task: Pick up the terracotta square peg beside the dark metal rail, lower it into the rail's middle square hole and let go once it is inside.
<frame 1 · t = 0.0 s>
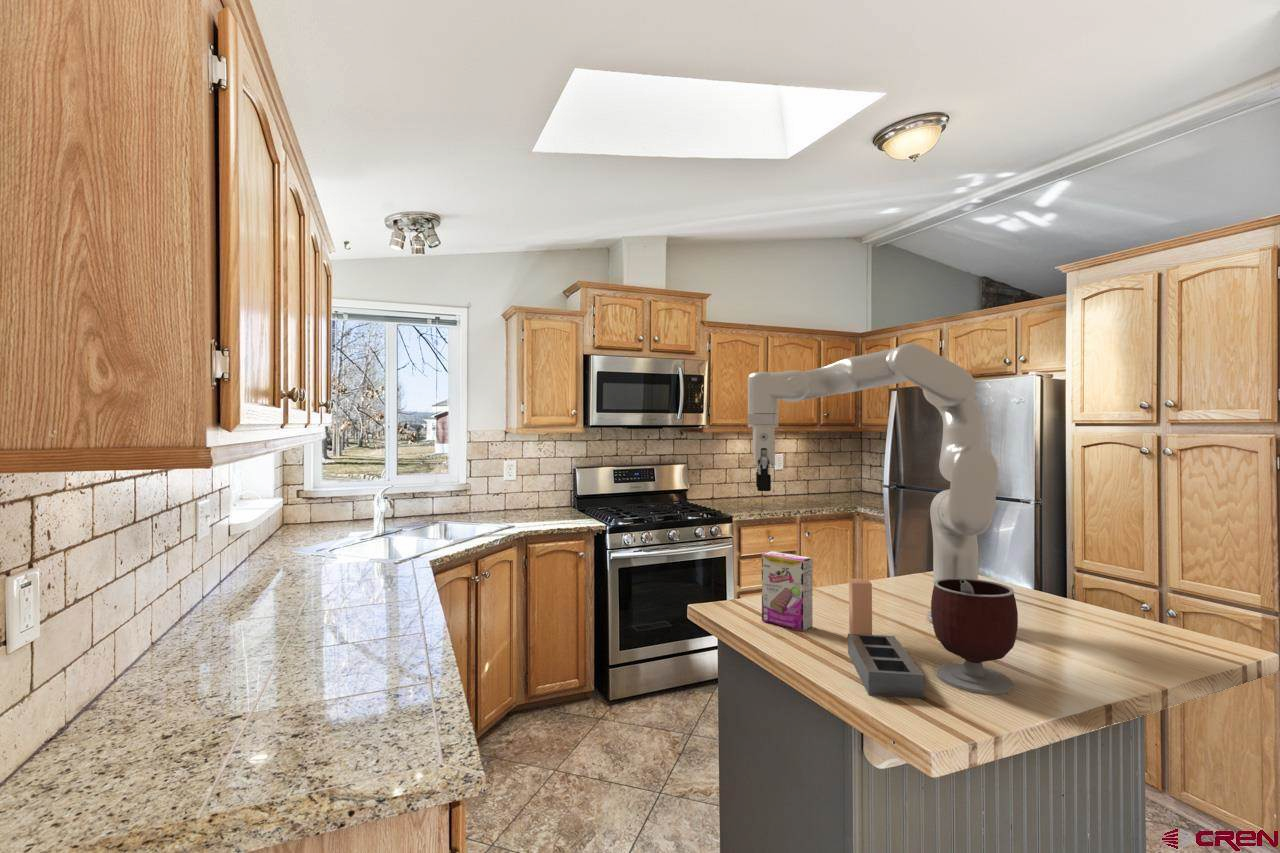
hand: (763, 489, 151), 31 cm above the countertop, tool pointing down, fingers open, 9 cm apart
candy bar box: (786, 625, 142), on the countertop
mate gourd: (972, 682, 109), on the countertop
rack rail: (882, 673, 112), on the countertop
square peg: (860, 640, 130), on the countertop
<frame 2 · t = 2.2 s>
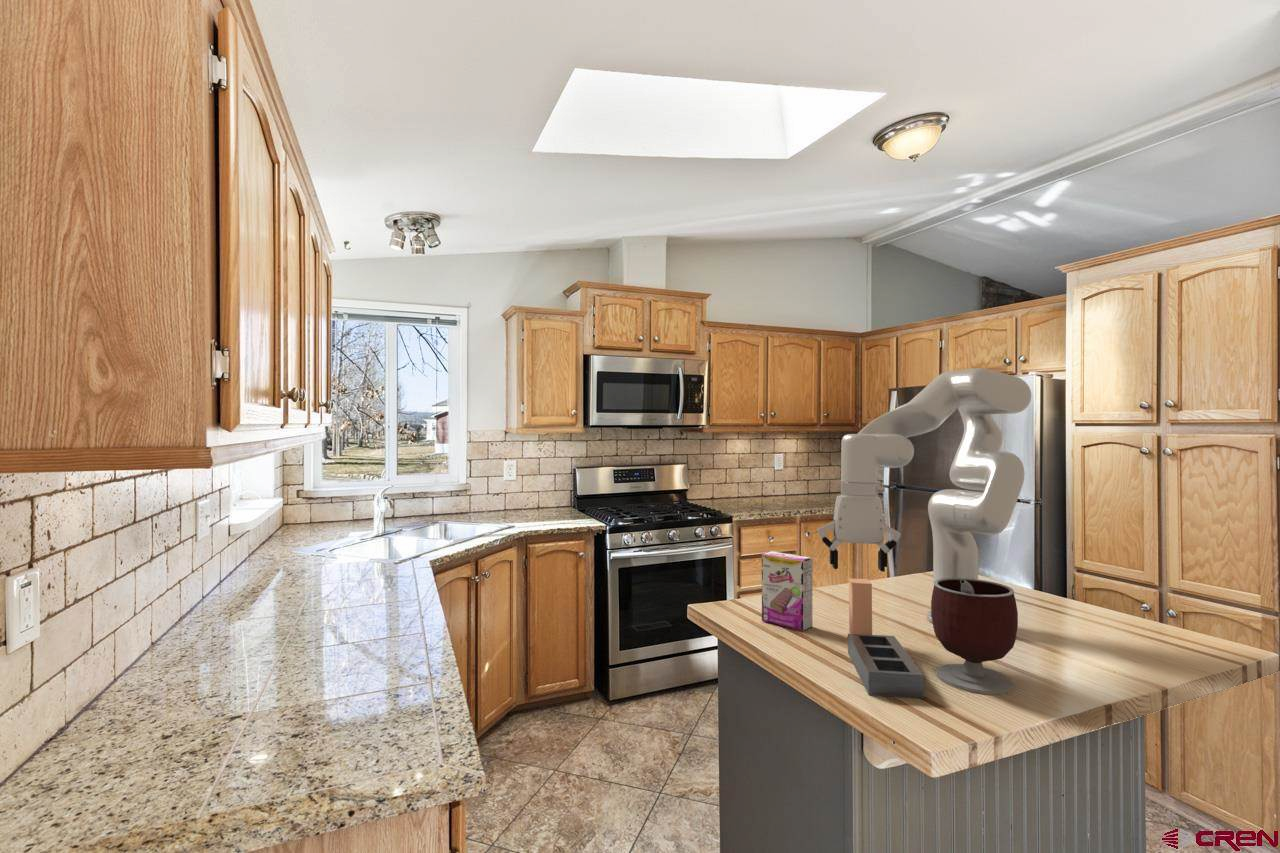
hand: (858, 569, 130), 16 cm above the countertop, tool pointing down, fingers open, 9 cm apart
nothing on the countertop moved.
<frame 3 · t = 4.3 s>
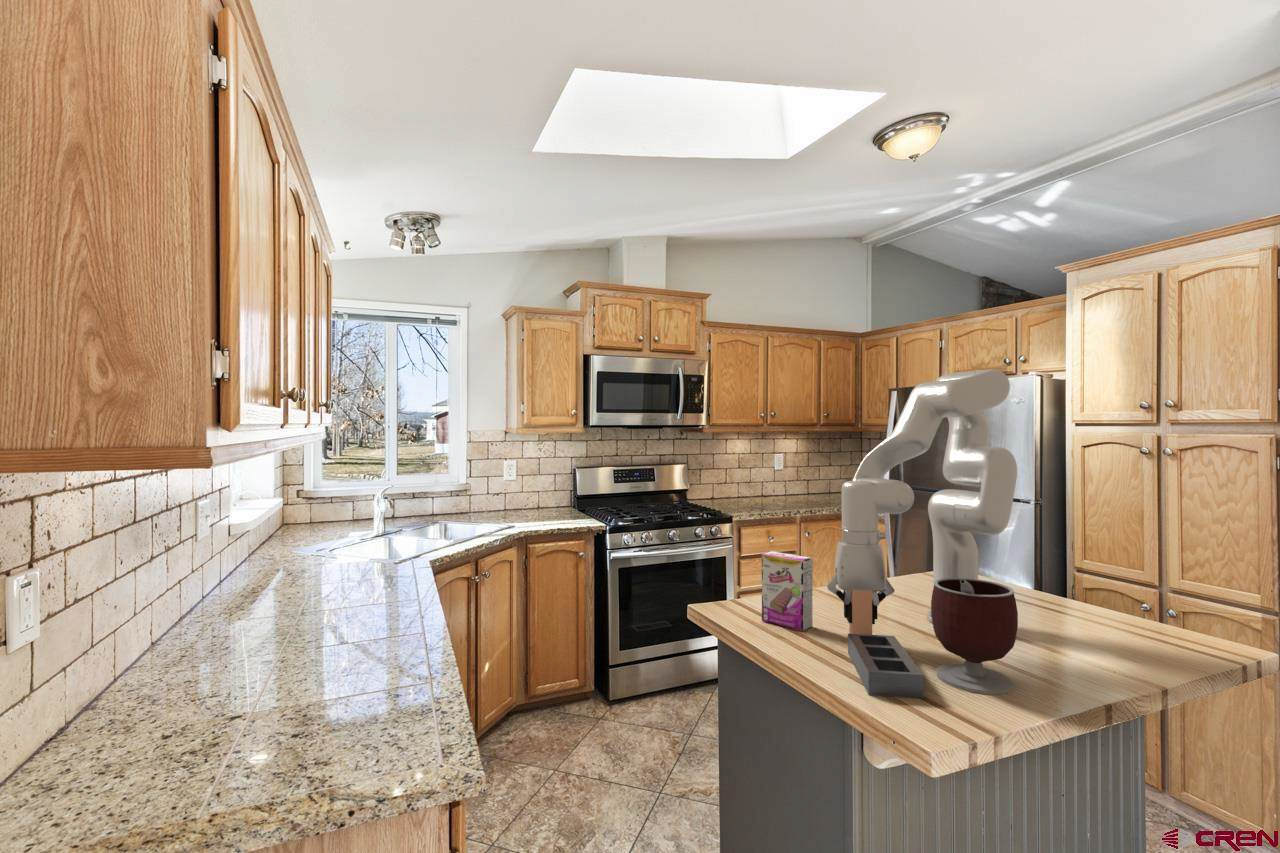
hand: (860, 621, 130), 4 cm above the countertop, tool pointing down, fingers closed on square peg, 4 cm apart
square peg: (860, 640, 130), on the countertop, touching gripper
everything else where it was.
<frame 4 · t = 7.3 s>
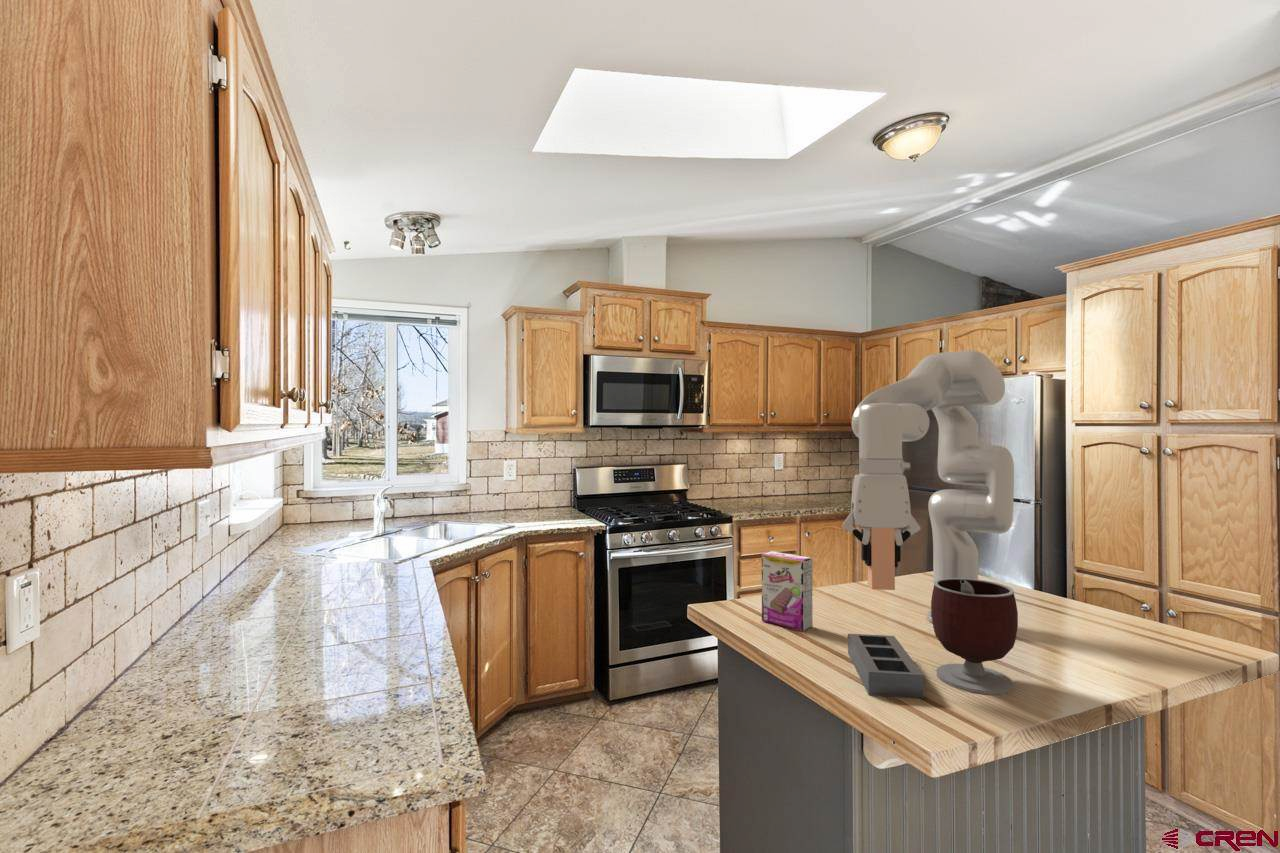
hand: (880, 564, 113), 20 cm above the countertop, tool pointing down, fingers closed on square peg, 4 cm apart
square peg: (881, 587, 113), point 16 cm above the countertop, touching gripper
everything else where it was.
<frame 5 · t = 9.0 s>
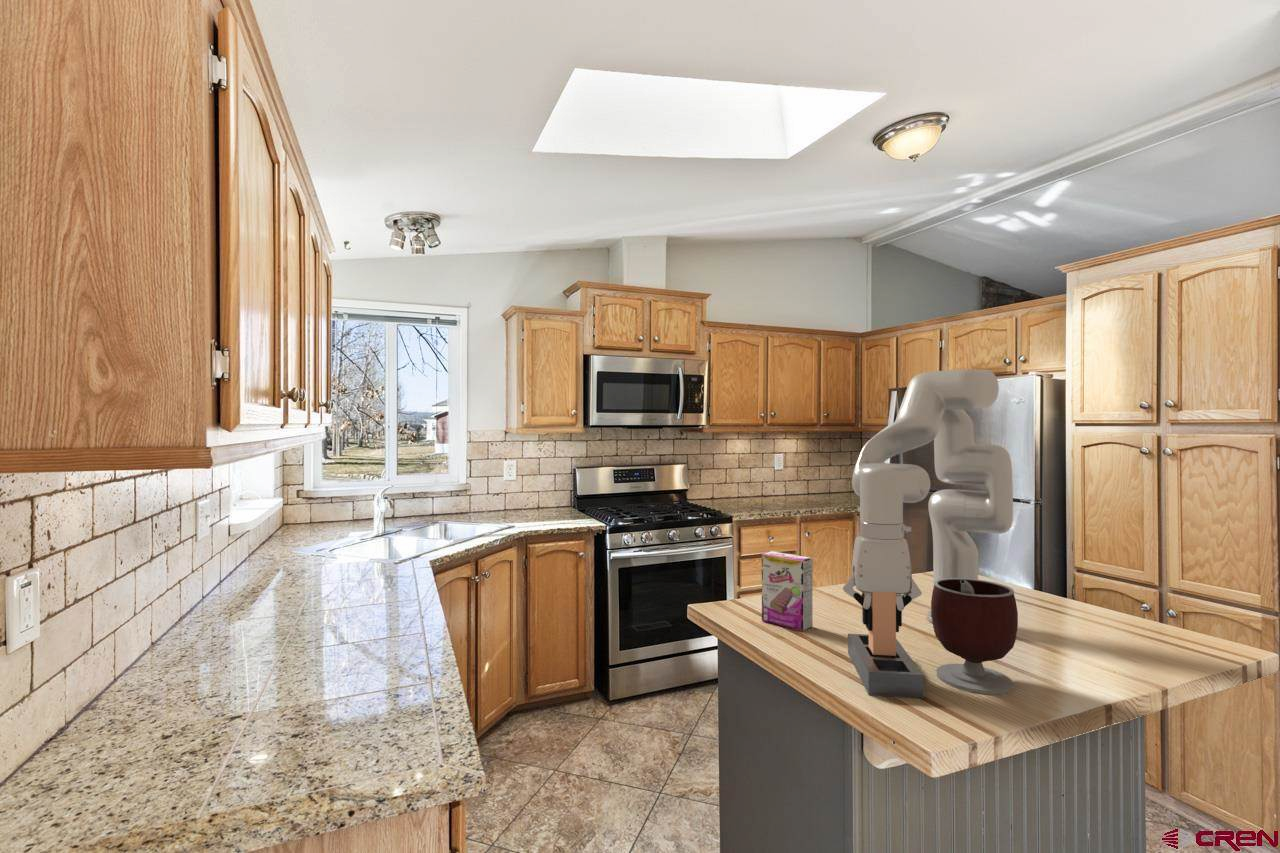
hand: (881, 628, 112), 9 cm above the countertop, tool pointing down, fingers closed on square peg, 4 cm apart
square peg: (882, 651, 112), point 4 cm above the countertop, touching gripper
everything else where it was.
when the fingers open (6 cm above the countertop, at t = 10.2 s): square peg drops 1 cm, resting in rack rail.
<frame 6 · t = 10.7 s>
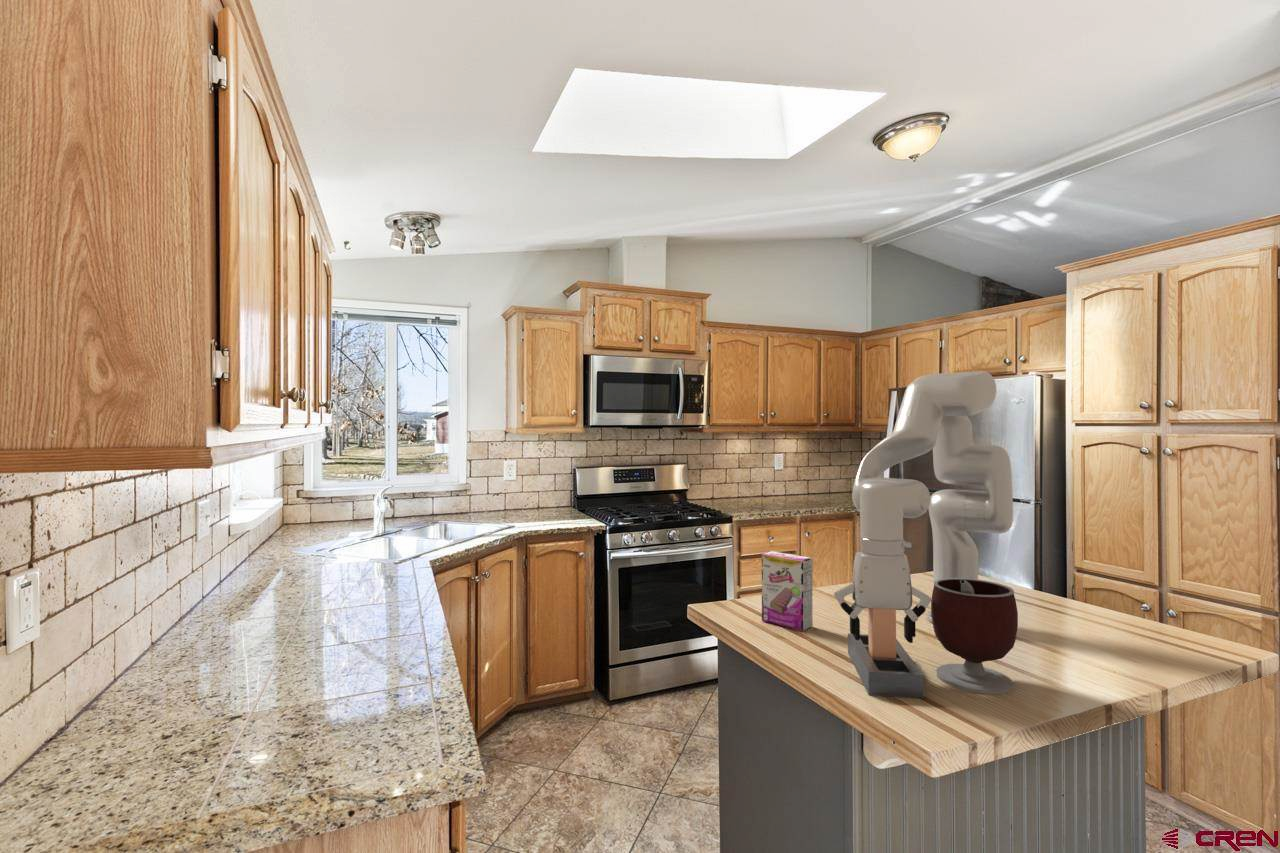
hand: (882, 639, 112), 7 cm above the countertop, tool pointing down, fingers open, 9 cm apart
square peg: (882, 673, 112), resting in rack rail
everything else where it was.
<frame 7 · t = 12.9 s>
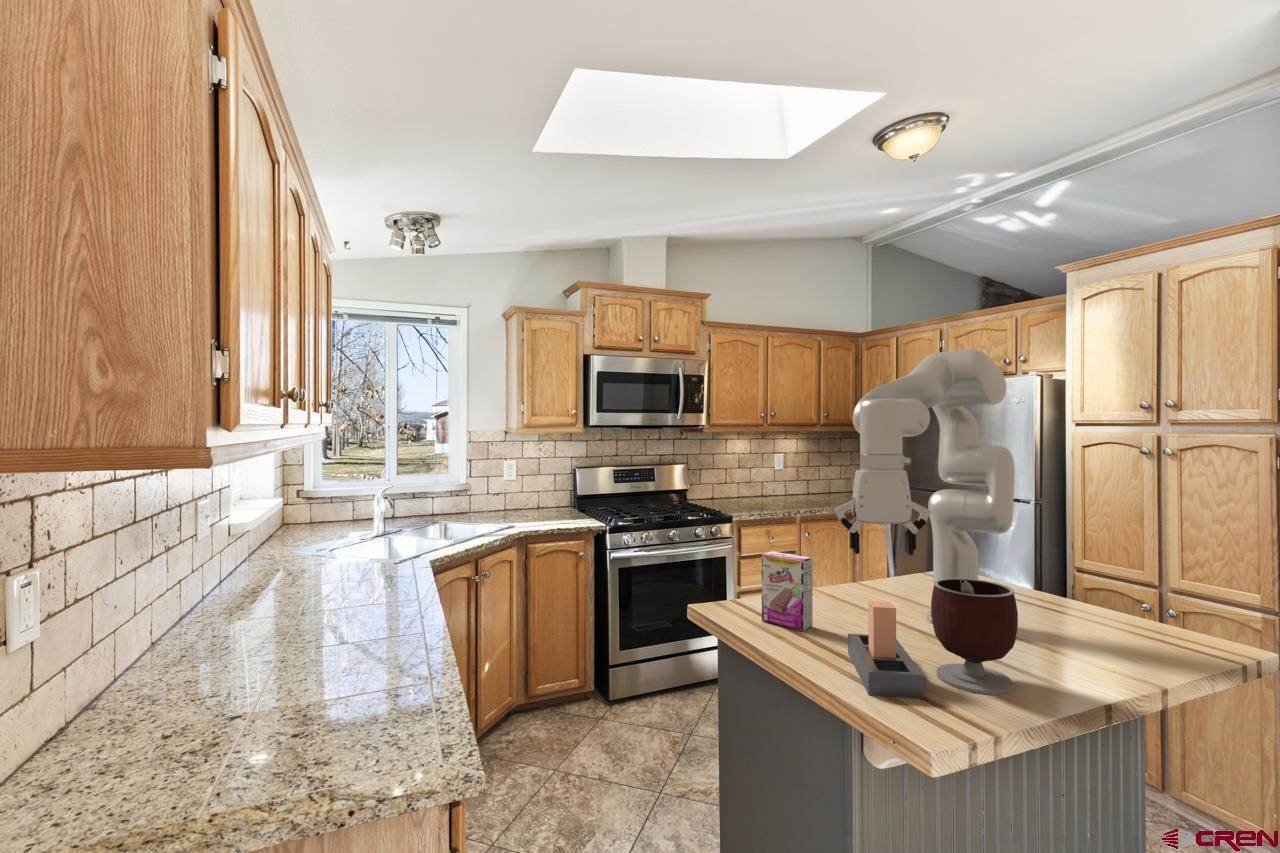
hand: (882, 553, 114), 22 cm above the countertop, tool pointing down, fingers open, 9 cm apart
nothing on the countertop moved.
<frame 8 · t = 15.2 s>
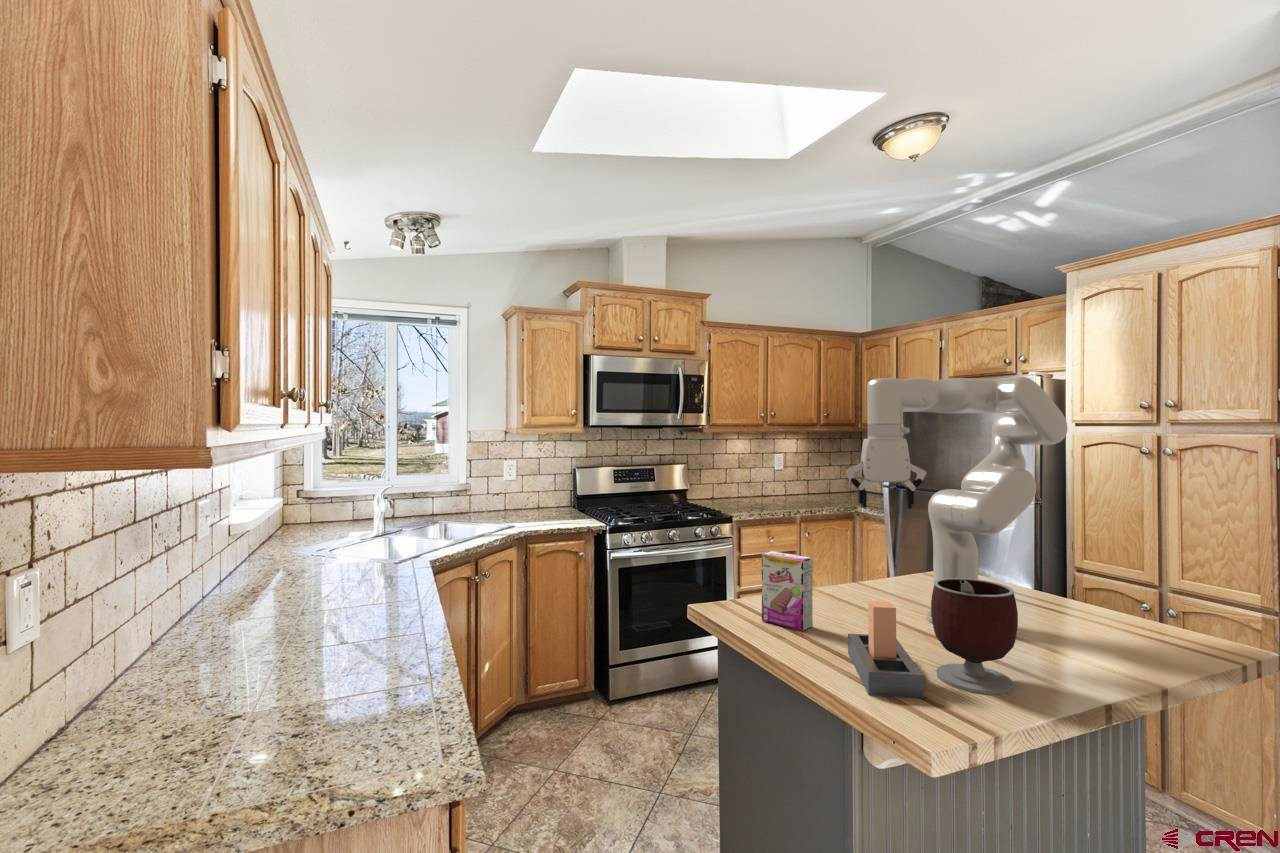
hand: (885, 507, 136), 28 cm above the countertop, tool pointing down, fingers open, 9 cm apart
nothing on the countertop moved.
at the end: square peg 0.1 cm off-centre on the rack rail, point 0.0 cm above the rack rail's base; square peg tilted 0°; the gripper is holding nothing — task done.
